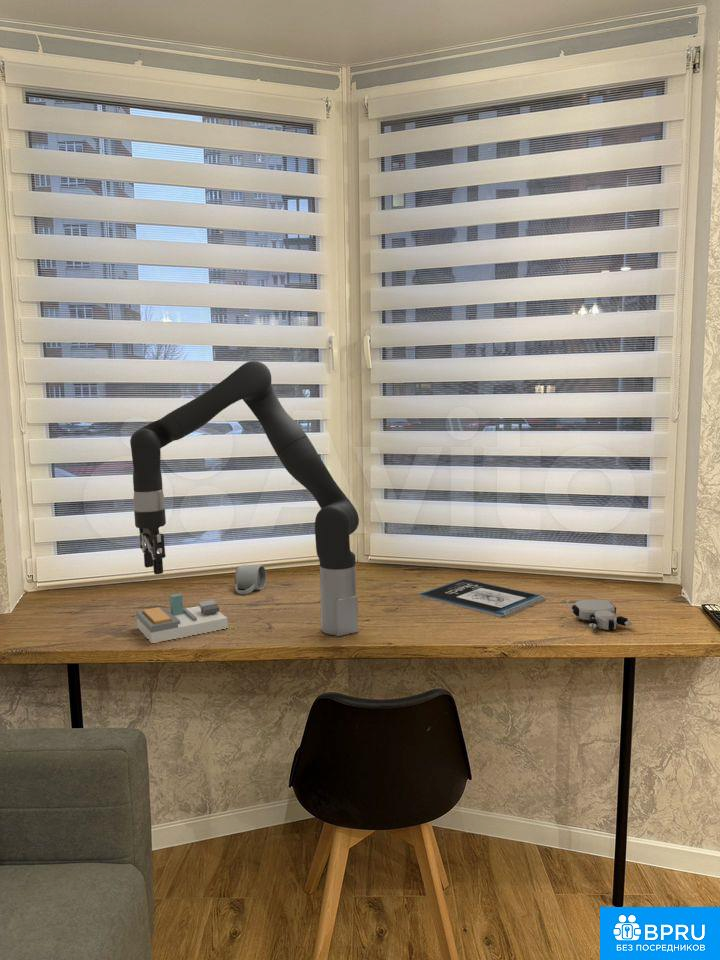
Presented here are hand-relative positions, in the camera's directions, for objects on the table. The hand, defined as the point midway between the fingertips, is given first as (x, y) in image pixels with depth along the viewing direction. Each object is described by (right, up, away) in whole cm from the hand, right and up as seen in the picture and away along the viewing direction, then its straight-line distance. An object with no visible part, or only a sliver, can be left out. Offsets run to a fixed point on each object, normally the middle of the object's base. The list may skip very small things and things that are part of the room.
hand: (153, 570), depth 187 cm
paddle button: (0, -14, +2) cm, 14 cm away
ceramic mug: (+19, -11, +40) cm, 45 cm away
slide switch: (+4, -13, +9) cm, 16 cm away
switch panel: (+6, -16, +6) cm, 18 cm away
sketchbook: (+89, -12, +27) cm, 93 cm away
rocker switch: (+12, -12, +9) cm, 19 cm away
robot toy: (+115, -15, +4) cm, 116 cm away
